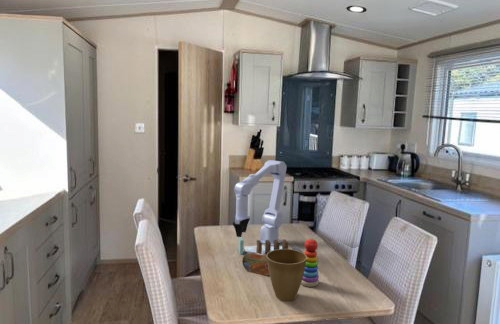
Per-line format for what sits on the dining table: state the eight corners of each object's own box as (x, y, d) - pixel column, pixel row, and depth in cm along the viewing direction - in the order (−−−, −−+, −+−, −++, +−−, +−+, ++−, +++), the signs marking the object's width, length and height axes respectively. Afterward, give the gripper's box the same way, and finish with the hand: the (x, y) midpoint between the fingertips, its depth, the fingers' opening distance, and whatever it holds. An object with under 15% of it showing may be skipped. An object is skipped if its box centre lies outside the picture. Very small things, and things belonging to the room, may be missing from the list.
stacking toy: (295, 282, 154) (296, 238, 152) (308, 277, 159) (310, 234, 157) (309, 289, 148) (312, 243, 146) (322, 283, 153) (325, 239, 151)
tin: (241, 270, 165) (242, 251, 164) (245, 267, 168) (245, 249, 167) (273, 277, 158) (273, 258, 157) (276, 274, 161) (276, 256, 160)
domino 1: (240, 254, 183) (240, 240, 182) (238, 250, 188) (238, 237, 187) (243, 254, 183) (243, 240, 183) (241, 250, 188) (242, 237, 187)
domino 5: (284, 256, 181) (285, 242, 181) (281, 253, 186) (282, 239, 185) (287, 256, 182) (288, 242, 181) (285, 253, 186) (285, 239, 186)
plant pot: (280, 284, 152) (281, 245, 150) (312, 295, 143) (314, 255, 141) (257, 297, 141) (258, 256, 139) (290, 310, 131) (292, 267, 129)
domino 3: (267, 257, 180) (267, 243, 179) (264, 253, 185) (265, 240, 184) (270, 257, 180) (270, 243, 179) (268, 253, 185) (268, 240, 184)
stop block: (295, 257, 181) (296, 251, 181) (291, 251, 188) (292, 246, 188) (301, 256, 182) (302, 251, 181) (297, 251, 189) (297, 246, 188)
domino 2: (258, 257, 179) (258, 243, 178) (256, 254, 184) (256, 240, 183) (261, 257, 180) (261, 243, 179) (259, 254, 184) (259, 240, 183)
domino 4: (275, 257, 181) (276, 243, 180) (273, 253, 185) (273, 239, 185) (279, 257, 181) (279, 243, 180) (276, 253, 186) (277, 239, 185)
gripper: (245, 211, 175) (245, 239, 176) (253, 204, 189) (253, 231, 190) (231, 210, 177) (230, 238, 178) (240, 203, 190) (239, 229, 192)
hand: (241, 234), depth 184 cm, fingers open, 7 cm apart
